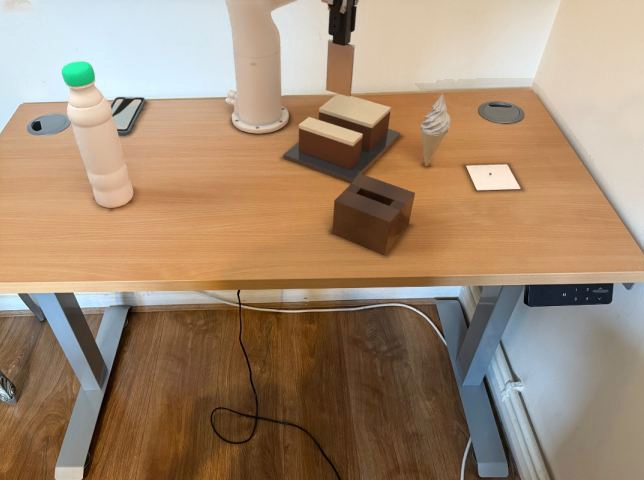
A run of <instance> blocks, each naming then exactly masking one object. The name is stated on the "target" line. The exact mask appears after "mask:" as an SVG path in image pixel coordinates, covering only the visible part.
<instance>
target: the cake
mask: <svg viewBox="0 0 644 480" xmlns="http://www.w3.org/2000/svg"><path fill="white" fill-rule="evenodd" d="M391 110H392V107H391V106H388V105H384V104H382V103H381V104H380V103H377V102H374V101H372V100H371V101H370V100H367V99H364V98H360V97H356V96H353V95H351V96H350V97H348V96H345V95H341V94H338V93H336V94H335V95H334V96H333V97H331V98H330V99H329V100H328V101H326V102H325V103H323V105H321V106H320V107H319V108H318V120H320V121H324V122H327V123H330V124H333V125H336V126H339V127H342V128H346V129H349V130H352V131H355V132H358V133H361V134H363V136H362V145H361V149H362V150H365V151H368V152H369V151H370V150H371V149H373V148H374V147H375V146H376V145H377V144H378V143H379V142H380V141H381V140H382V139H383V138H384V137H385V136H386V135H387V133H388V129H389V125H390V119H391V118H390V117H391Z"/></svg>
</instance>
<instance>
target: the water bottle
mask: <svg viewBox="0 0 644 480" xmlns="http://www.w3.org/2000/svg"><path fill="white" fill-rule="evenodd" d="M61 76H62V79H63V81H64V83H65V85H66V87H67V88H68V89H69V94H68V98H67V99H68V101H67V106H66V114H67V115H66V116H67V118H68V120H69V122H70V123H71V127H72V131H73V135H74V139H75V142H76V146H77V148H78V152H79V154H80V157H81V160H82V162H83V164H84V166H85V168H86V175H87V178H88V181H89V184H90V185H91V188H92V194H93V197H94V199H95V202H96V203H97V204H98V205H99V206H101V207H104V208H108V209H114V208H115V209H116V208H120V207H122V206H125V205H127V204H128V203H130V201H131V200H132V199H133V197H134V188H133V186H132V181H131V179H130V176H129V169H128V166H127V164H126V161H125V159H124V152H123V148H122V147H123V146H122V144H121V139H120V134H118V132H117V128H116V125H115V122H114V119H113V117H112V109H111V103H110V102H109V100H108V99H107V98H106V97H105V96H104V95H103V93H102V92H101V90H100V89H98V88H97V86H96V85H95V83H96V74H95V70H94V67H93V66H92V64H90V63H89V62H87V61H82V60H81V61H80V60H77V61H73V62H69V63H67V64H65V65H64V66H63V67H62V68H61Z"/></svg>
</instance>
